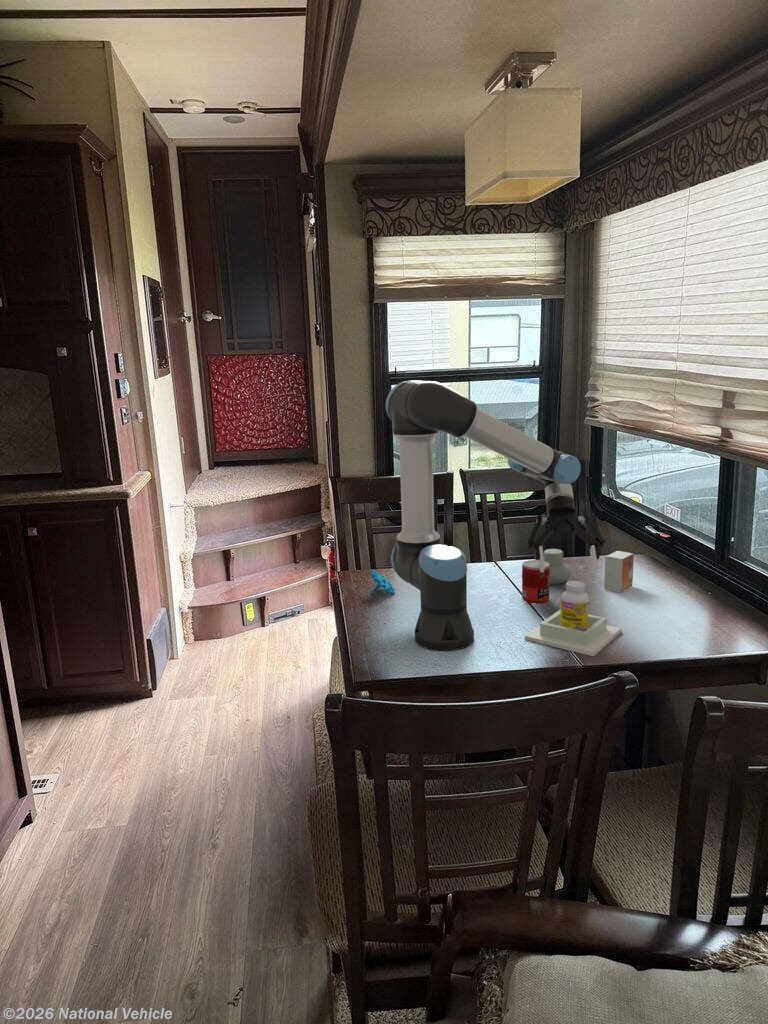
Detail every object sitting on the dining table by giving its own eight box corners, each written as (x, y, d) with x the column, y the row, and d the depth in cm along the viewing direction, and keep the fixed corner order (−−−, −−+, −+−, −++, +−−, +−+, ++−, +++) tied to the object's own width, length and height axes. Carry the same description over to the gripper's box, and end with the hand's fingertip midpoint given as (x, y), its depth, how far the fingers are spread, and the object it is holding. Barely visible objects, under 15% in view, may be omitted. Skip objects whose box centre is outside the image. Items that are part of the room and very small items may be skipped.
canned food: (542, 606, 196) (543, 569, 194) (517, 601, 201) (517, 565, 199) (553, 598, 202) (554, 562, 200) (528, 593, 207) (529, 558, 204)
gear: (394, 594, 205) (370, 570, 206) (380, 608, 206) (357, 584, 207) (399, 587, 216) (376, 565, 217) (386, 600, 217) (363, 578, 218)
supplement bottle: (557, 634, 173) (558, 585, 171) (563, 625, 179) (565, 578, 176) (584, 638, 170) (585, 589, 167) (590, 629, 176) (591, 581, 173)
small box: (621, 593, 204) (622, 559, 202) (603, 589, 208) (604, 555, 206) (633, 586, 210) (634, 553, 208) (615, 582, 214) (616, 550, 211)
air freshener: (531, 579, 220) (531, 549, 218) (551, 575, 224) (551, 545, 221) (554, 588, 210) (555, 557, 208) (575, 583, 214) (575, 553, 212)
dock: (593, 656, 162) (594, 640, 162) (524, 639, 173) (524, 624, 173) (621, 631, 176) (622, 617, 175) (555, 617, 187) (556, 603, 186)
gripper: (603, 508, 193) (614, 575, 182) (513, 509, 195) (519, 576, 184) (608, 493, 187) (620, 562, 176) (515, 495, 189) (522, 563, 178)
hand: (569, 569), depth 180 cm, fingers open, 13 cm apart
